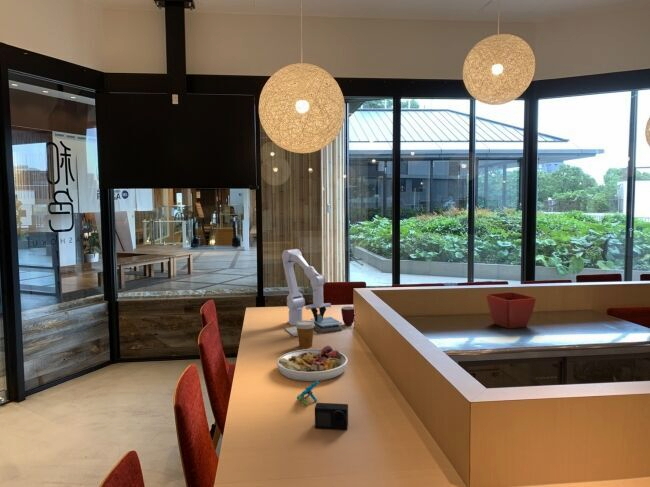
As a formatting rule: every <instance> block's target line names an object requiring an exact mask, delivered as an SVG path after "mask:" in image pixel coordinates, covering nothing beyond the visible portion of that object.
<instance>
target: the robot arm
mask: <svg viewBox="0 0 650 487" xmlns="http://www.w3.org/2000/svg"><path fill="white" fill-rule="evenodd" d="M281 258H282V263H283V264H282V265H283V270H284V274H285V278H286V283H287V287H288V291H289V292H288V293H289V294H288V295H287V296H286V306H287V309H288V320H287V322H286V323H288V324H289V325H290V326H292V327H293V326H294V327H296V323H297V322H298V321H304V320H303V309H304V307H305V310H307V311H308V310H310V311H311V313H312V315H313V319H315V321H317V314H320V315H322V320H323V317H325V312H326V311H327V308H331V307H332V303H330V302H327V303H325V302H324V285H325V284H326V278H325V276H324V275H323V274H320V273H318V272H317V270H316V269H315V267H314V266H313V265H309V264H308V262H307V261H306V259H305V258H304V257H303V254H302V252H301V251H300V249H298V248H293V249H284V250H283V252H282V254H281ZM295 263H297V264H298V265H299V266H300V267H301V268H302V269H303V270H304V272H303V273H304V275H305V276H307V278H308V279H309V280H310V284H311V289H312V304H308V305H306V301H305V298H304V297H303V296H304V295H303V293H301V292H300V291H299V287H298V284H297V279H296V277H297V276H296V273H295V269H294V266H295ZM318 310H319V311H318ZM318 312H319V313H318Z"/></svg>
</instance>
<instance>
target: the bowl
mask: <svg viewBox="0 0 650 487" xmlns="http://www.w3.org/2000/svg"><path fill="white" fill-rule="evenodd" d="M276 366H277V370H278V371H279V372H280V373H281V374H282V376H284V377H286V378H289V379H290V380H291V379H292V380H294V381H299V382H316V381H317V380H318V382H321V381H322V382H323V381H327V380H332V379H334V378H336V377H338V376H340V375H342V374H343V373H344V372H345V370H346V369H347V366H348V357H347V356H346V355H345V354H343V353H341V352H339V350H337V349H333V347H331V346H330V345H325V346H324V347H323V348H303V349H299V350H298V349H297V350H293V351H289V352H287V353H284V354H282V355H281V356H280V357H279V358H277V359H276Z"/></svg>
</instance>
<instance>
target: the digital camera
mask: <svg viewBox="0 0 650 487" xmlns="http://www.w3.org/2000/svg"><path fill="white" fill-rule="evenodd" d="M348 427H349V404H348V403H335V402H334V403H333V402H332V403H330V402H315V406H314V429H315V430H332V431H333V430H336V431H348Z"/></svg>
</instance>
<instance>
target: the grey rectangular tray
mask: <svg viewBox="0 0 650 487" xmlns="http://www.w3.org/2000/svg"><path fill="white" fill-rule="evenodd" d="M314 324H315V326H314V329H315V330H317V331H318V332H320V333H321V334H325V333H332V332H333V333H335V332H340V331H342V330H343V328H342V327H343V326H341V325H334V326H325V327H321V326H320V325H318V324H316V323H315V322H314Z"/></svg>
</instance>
